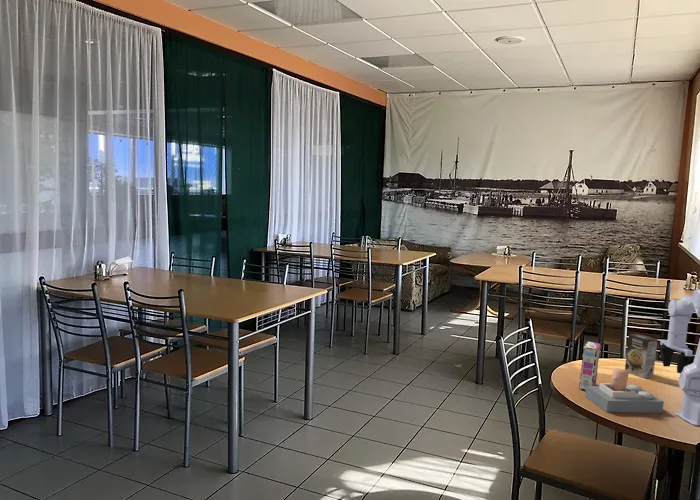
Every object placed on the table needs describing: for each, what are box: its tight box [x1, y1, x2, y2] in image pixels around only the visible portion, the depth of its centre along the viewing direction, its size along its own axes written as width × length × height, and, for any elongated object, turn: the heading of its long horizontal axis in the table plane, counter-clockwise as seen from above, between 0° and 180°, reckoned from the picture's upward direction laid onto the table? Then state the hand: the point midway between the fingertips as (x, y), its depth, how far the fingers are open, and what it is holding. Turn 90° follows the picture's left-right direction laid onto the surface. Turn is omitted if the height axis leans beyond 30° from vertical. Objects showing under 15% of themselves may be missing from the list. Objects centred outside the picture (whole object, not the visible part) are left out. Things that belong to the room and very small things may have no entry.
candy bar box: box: [578, 341, 601, 392], centre depth 207 cm, size 11×5×16 cm, turn 149°
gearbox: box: [584, 382, 664, 414], centre depth 191 cm, size 14×20×6 cm
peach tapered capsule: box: [610, 367, 630, 391], centre depth 190 cm, size 5×7×8 cm
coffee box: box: [624, 333, 659, 379], centre depth 226 cm, size 9×6×16 cm
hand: (673, 369), depth 200 cm, fingers open, 7 cm apart
